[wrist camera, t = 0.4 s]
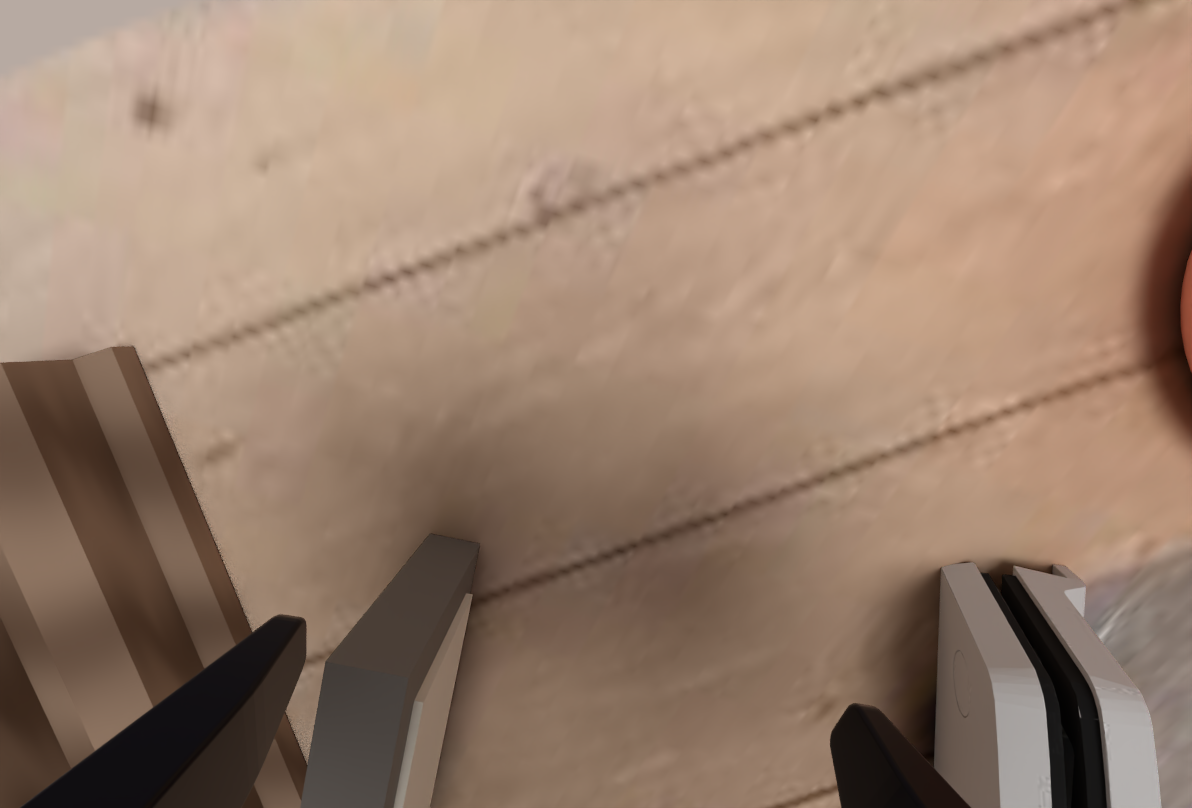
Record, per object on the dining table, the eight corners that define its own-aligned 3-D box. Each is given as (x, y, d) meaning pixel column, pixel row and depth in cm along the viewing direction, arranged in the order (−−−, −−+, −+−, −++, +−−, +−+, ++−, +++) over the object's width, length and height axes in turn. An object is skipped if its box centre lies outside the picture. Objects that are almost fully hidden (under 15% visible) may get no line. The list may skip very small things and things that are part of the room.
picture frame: (486, 544, 23) (418, 679, 14) (431, 814, 24) (337, 1099, 15) (424, 531, 22) (315, 659, 14) (373, 803, 24) (242, 1083, 15)
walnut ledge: (323, 806, 24) (277, 887, 20) (55, 888, 24) (-35, 981, 20) (133, 346, 21) (45, 348, 18) (-160, 443, 22) (-303, 462, 18)
